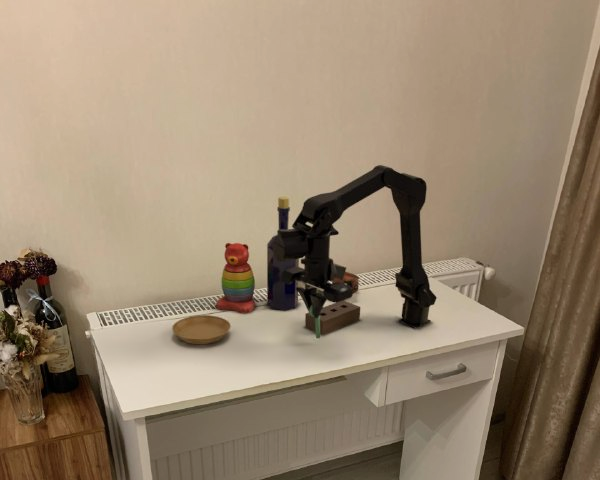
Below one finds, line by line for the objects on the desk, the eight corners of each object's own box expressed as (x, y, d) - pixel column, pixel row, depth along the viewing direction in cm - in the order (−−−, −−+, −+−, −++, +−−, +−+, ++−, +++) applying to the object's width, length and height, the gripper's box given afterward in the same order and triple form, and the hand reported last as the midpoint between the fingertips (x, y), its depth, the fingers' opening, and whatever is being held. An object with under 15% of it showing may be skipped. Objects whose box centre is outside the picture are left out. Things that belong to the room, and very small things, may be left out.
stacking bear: (213, 308, 173) (210, 246, 164) (228, 296, 181) (225, 236, 172) (248, 314, 170) (247, 251, 161) (262, 301, 178) (261, 241, 169)
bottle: (285, 313, 171) (286, 204, 156) (260, 305, 176) (259, 198, 160) (304, 303, 177) (308, 197, 162) (280, 296, 182) (281, 192, 167)
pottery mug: (319, 294, 185) (327, 268, 185) (343, 303, 190) (350, 278, 190) (342, 297, 175) (350, 269, 175) (366, 307, 180) (375, 280, 180)
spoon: (323, 337, 155) (322, 301, 149) (313, 342, 153) (311, 306, 147) (320, 335, 155) (318, 299, 149) (310, 341, 153) (308, 304, 147)
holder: (359, 320, 168) (360, 306, 166) (322, 335, 159) (323, 321, 157) (342, 313, 172) (343, 300, 170) (304, 327, 163) (305, 313, 161)
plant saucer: (176, 351, 150) (175, 341, 148) (170, 326, 162) (169, 317, 160) (235, 345, 153) (235, 335, 152) (225, 321, 165) (225, 312, 164)
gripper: (370, 257, 141) (364, 319, 149) (313, 239, 152) (311, 298, 160) (337, 268, 134) (333, 332, 142) (280, 248, 146) (279, 309, 154)
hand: (314, 317), depth 150 cm, fingers closed on spoon, 1 cm apart
